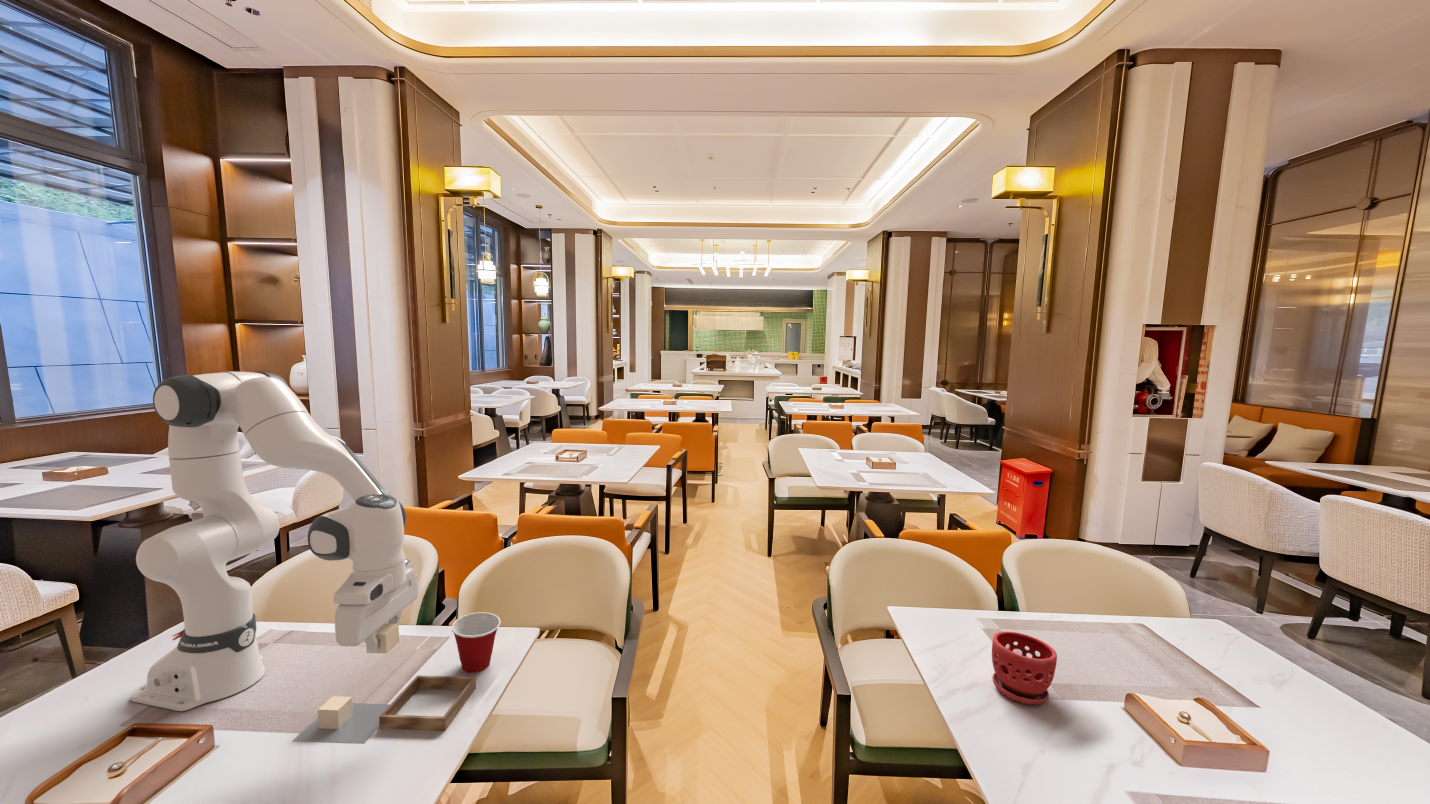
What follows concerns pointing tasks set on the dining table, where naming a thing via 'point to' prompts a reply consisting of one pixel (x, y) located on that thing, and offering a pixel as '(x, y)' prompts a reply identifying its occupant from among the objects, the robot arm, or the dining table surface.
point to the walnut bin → (427, 722)
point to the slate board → (347, 726)
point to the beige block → (387, 637)
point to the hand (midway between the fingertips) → (383, 642)
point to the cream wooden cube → (335, 712)
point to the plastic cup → (475, 639)
